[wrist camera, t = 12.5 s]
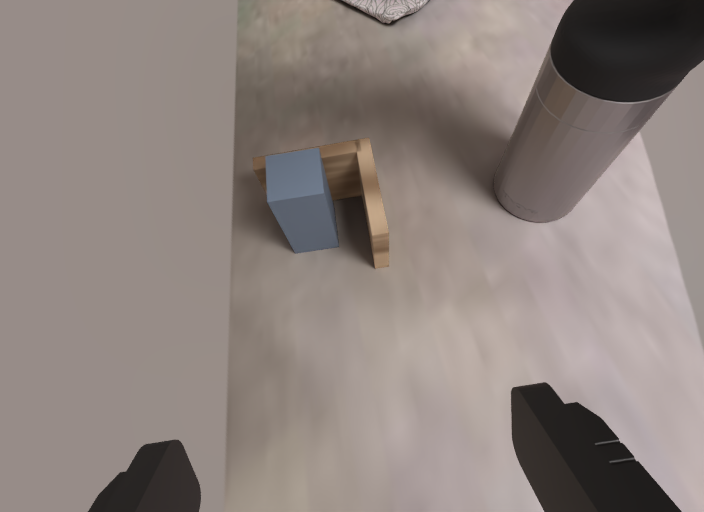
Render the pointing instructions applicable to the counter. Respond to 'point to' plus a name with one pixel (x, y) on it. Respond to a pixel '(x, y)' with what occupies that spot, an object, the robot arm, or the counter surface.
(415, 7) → the cookie jar
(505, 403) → the counter surface
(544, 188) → the robot arm
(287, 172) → the slate block
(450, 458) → the counter surface
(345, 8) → the counter surface
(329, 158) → the oak corner bracket
